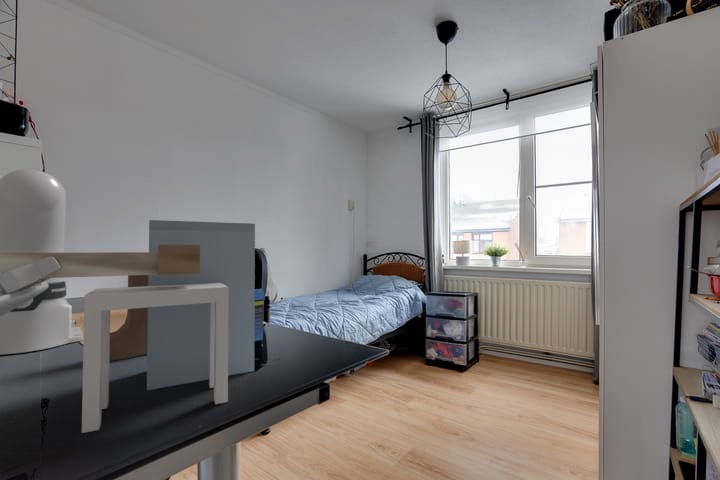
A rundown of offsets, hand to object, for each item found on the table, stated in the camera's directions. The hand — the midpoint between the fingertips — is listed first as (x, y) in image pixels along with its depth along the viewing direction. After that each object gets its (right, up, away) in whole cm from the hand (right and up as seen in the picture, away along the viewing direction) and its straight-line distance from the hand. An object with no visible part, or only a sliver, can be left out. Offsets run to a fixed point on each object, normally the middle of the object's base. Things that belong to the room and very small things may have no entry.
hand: (62, 261), depth 42 cm
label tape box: (+10, -21, +36) cm, 43 cm away
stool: (+9, -20, +5) cm, 23 cm away
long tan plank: (+4, -2, +2) cm, 5 cm away
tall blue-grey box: (+9, -21, +18) cm, 29 cm away
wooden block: (-10, -21, +27) cm, 36 cm away
